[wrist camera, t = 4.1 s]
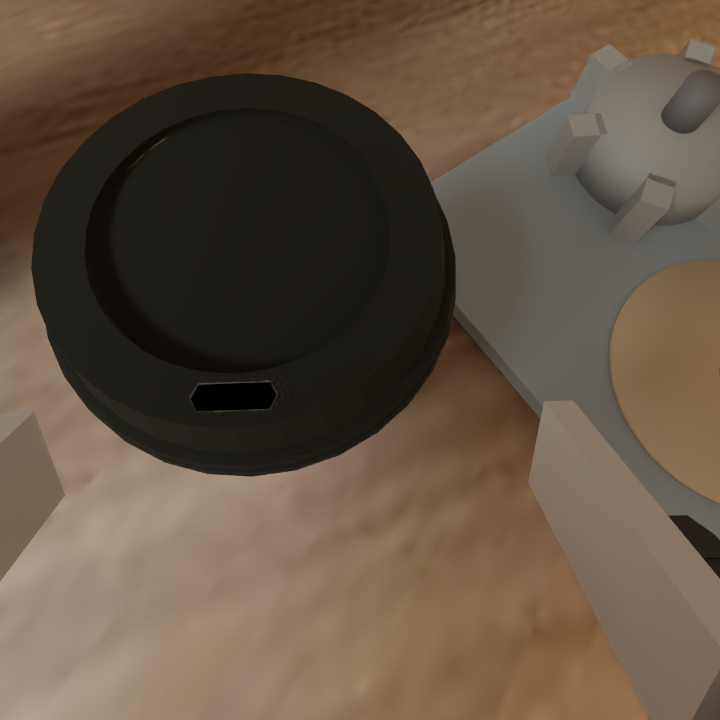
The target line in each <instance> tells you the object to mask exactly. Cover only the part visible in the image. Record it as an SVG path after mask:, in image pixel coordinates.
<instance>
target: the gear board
mask: <svg viewBox="0 0 720 720" xmlns="http://www.w3.org/2000/svg"><path fill="white" fill-rule="evenodd" d="M714 50H715V47H714V46H711V45H708V44H705V43H702V42H699V41H696V40H693V39H690V40H689V42H688V43H687V44H686V46H685V47H684V49H683V50H682V51H681V53H680V54H679V55H671V54H652V55H644V56H640V57H635V58H633V59H630V60H628V59H627V58H625V57H624V56H623V55H622V54H621V53H620V52H619V51H617V50H616V49H615V48H614V47H613V46H612V45H610V44H608V45H607V46H605V47H603V48H601V49H600V50H598V51H596V52H595V53H593V54H591V56H590V58H589V60H588V62H587V64H586V66H585V68H584V70H583V72H582V74H581V76H580V77H579V79H578V81H577V83H576V85H575V87H574V89H573V91H572V93H571V95H570V97H569V98H567V99H565V100H564V101H562V102H561V103H559V104H557V105H556V106H554V107H552V108H551V109H549V110H547V111H546V112H544V113H543V114H541V115H539V116H538V117H536V118H534V119H533V120H531V121H530V122H528V123H526V124H525V125H523V126H521V127H520V128H518V129H516V130H515V131H513V132H512V133H510V134H508V135H507V136H505V137H503V138H502V139H500V140H498V141H497V142H495V143H494V144H492V145H490V146H489V147H487V148H485V149H484V150H482V151H481V152H479V153H477V154H476V155H474V156H472V157H471V158H469V159H467V160H466V161H464V162H463V163H461V164H459V165H458V166H456V167H454V168H453V169H451V170H449V171H448V172H446V173H445V174H443V175H441V176H440V177H438V178H436V179H435V180H433V181H431V182H430V183H431V185H432V187H433V189H434V193H435V195H436V197H437V199H438V202H439V204H440V206H441V208H442V210H443V212H444V214H445V216H446V219H447V222H448V226H449V230H450V234H451V239H452V243H453V247H454V252H455V256H456V300H455V306H454V311H453V316H454V317H455V319H456V320H457V321H458V322H459V323H460V325H461V326H462V327H463V328H464V329H465V330H466V332H467V333H468V334H469V335H470V336H471V338H472V339H473V340H474V341H475V342H476V344H477V345H478V346H479V347H480V348H481V349H482V351H483V352H484V353H485V354H486V355H487V357H488V358H489V359H490V360H491V361H492V363H493V364H494V365H495V366H496V367H497V368H498V370H499V371H500V372H501V373H502V374H503V376H504V377H505V378H506V379H507V380H508V382H509V383H510V384H511V385H512V386H513V387H514V389H515V390H516V391H517V392H518V393H519V395H520V396H521V397H522V398H523V399H524V400H525V402H526V403H527V404H528V405H529V406H530V408H531V409H532V410H533V411H534V412H535V414H536V415H537V416H538V417H539V418H540V419H541V414H542V409H543V404H544V401H569V400H573V401H574V402H575V403H576V405H577V406H578V407H579V408H580V409H581V411H582V412H583V413H584V414H585V416H586V417H587V418H588V419H589V420H590V422H591V423H592V424H593V425H594V427H595V428H596V429H597V430H598V431H599V433H600V434H601V435H602V436H603V437H604V439H605V440H606V441H607V442H608V444H609V445H610V446H611V447H612V448H613V450H614V451H615V452H616V453H617V454H618V456H619V457H620V458H621V459H622V461H623V462H624V463H625V464H626V465H627V467H628V468H629V469H630V470H631V471H632V473H633V474H634V475H635V476H636V478H637V479H638V480H639V481H640V482H641V484H642V485H643V486H644V487H645V489H646V490H647V491H648V492H649V493H650V495H651V496H652V497H653V498H654V499H655V501H656V502H657V503H658V504H659V506H660V507H661V508H662V509H663V510H664V512H665V513H666V514H667V515H668V516H672V515H688V516H689V517H691V518H692V519H694V520H695V521H696V522H698V523H699V524H701V525H702V526H704V527H705V528H706V529H708V530H709V531H711V532H712V533H713V534H715V535H716V536H717V538H718V539H719V540H720V69H718V68H716V67H714V66H712V65H710V64H711V60H712V57H713V53H714Z"/></svg>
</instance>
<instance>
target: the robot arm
mask: <svg viewBox="0 0 720 720" xmlns="http://www.w3.org/2000/svg"><path fill="white" fill-rule="evenodd" d="M528 484H529V486H530V488H531V490H532V492H533V494H534V496H535V498H536V500H537V502H538V504H539V506H540V508H541V510H542V511H543V513H544V515H545V517H546V519H547V521H548V523H549V525H550V527H551V529H552V531H553V533H554V535H555V537H556V539H557V541H558V543H559V545H560V547H561V549H562V551H563V553H564V555H565V557H566V559H567V561H568V562H569V564H570V566H571V568H572V570H573V572H574V574H575V576H576V578H577V580H578V582H579V584H580V586H581V588H582V590H583V592H584V594H585V596H586V598H587V600H588V602H589V604H590V606H591V608H592V610H593V612H594V613H595V615H596V617H597V619H598V621H599V623H600V625H601V627H602V629H603V631H604V633H605V635H606V637H607V639H608V641H609V643H610V645H611V647H612V649H613V651H614V653H615V655H616V657H617V659H618V661H619V663H620V665H621V666H622V668H623V670H624V672H625V674H626V676H627V678H628V680H629V682H630V684H631V686H632V688H633V690H634V692H635V694H636V696H637V698H638V700H639V702H640V704H641V706H642V708H643V710H644V712H645V714H646V716H647V717H648V719H649V720H720V540H719V539H718V538H717V536H716V535H715V534H713V533H712V532H711V531H709V530H708V529H706V528H705V527H704V526H702V525H701V524H699V523H698V522H696V521H695V520H694V519H692V518H691V517H689V516H688V515H672V516H668V515H667V514H666V513H665V512H664V510H663V509H662V508H661V507H660V506H659V504H658V503H657V502H656V501H655V499H654V498H653V497H652V496H651V495H650V493H649V492H648V491H647V490H646V489H645V487H644V486H643V485H642V484H641V482H640V481H639V480H638V479H637V478H636V476H635V475H634V474H633V473H632V471H631V470H630V469H629V468H628V467H627V465H626V464H625V463H624V462H623V461H622V459H621V458H620V457H619V456H618V454H617V453H616V452H615V451H614V450H613V448H612V447H611V446H610V445H609V444H608V442H607V441H606V440H605V439H604V437H603V436H602V435H601V434H600V433H599V431H598V430H597V429H596V428H595V427H594V425H593V424H592V423H591V422H590V420H589V419H588V418H587V417H586V416H585V414H584V413H583V412H582V411H581V409H580V408H579V407H578V406H577V405H576V403H575V402H574V401H573V400H569V401H544V404H543V409H542V414H541V419H540V424H539V430H538V435H537V440H536V445H535V450H534V455H533V460H532V465H531V470H530V475H529V481H528ZM64 495H65V494H64V491H63V488H62V486H61V483H60V480H59V478H58V475H57V472H56V470H55V467H54V464H53V462H52V459H51V456H50V453H49V451H48V448H47V445H46V443H45V440H44V437H43V435H42V432H41V429H40V427H39V424H38V421H37V418H36V416H35V413H34V412H4V413H2V414H1V415H0V581H1V579H2V578H3V577H4V575H5V574H6V573H7V571H8V570H9V569H10V567H11V566H12V565H13V563H14V562H15V561H16V559H17V558H18V557H19V555H20V554H21V553H22V551H23V550H24V549H25V547H26V546H27V545H28V543H29V542H30V541H31V539H32V538H33V537H34V535H35V534H36V533H37V531H38V530H39V529H40V527H41V526H42V525H43V523H44V522H45V521H46V519H47V518H48V517H49V515H50V514H51V513H52V511H53V510H54V509H55V507H56V506H57V505H58V503H59V502H60V501H61V499H62V498H63V497H64Z"/></svg>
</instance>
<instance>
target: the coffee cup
mask: <svg viewBox="0 0 720 720" xmlns="http://www.w3.org/2000/svg"><path fill="white" fill-rule="evenodd" d="M31 269H32V275H33V282H34V288H35V295H36V301H37V305H38V308H39V310H40V313H41V315H42V317H43V320H44V322H45V324H46V329H47V335H48V339H49V342H50V344H51V346H52V349H53V351H54V353H55V356H56V358H57V361H58V363H59V365H60V368H61V370H62V373H63V375H64V377H65V378H66V380H67V381H68V382H69V384H70V385H71V386H72V388H73V389H74V390H75V392H76V393H77V395H78V396H79V397H80V399H81V400H82V401H83V403H84V404H85V405H86V407H87V408H88V409H89V410H90V411H91V412H92V413H93V414H94V415H95V416H96V417H97V418H99V419H100V420H101V421H102V422H103V423H104V424H106V425H107V426H108V427H109V428H110V429H111V430H113V431H114V432H115V433H116V434H117V435H119V436H120V437H121V438H122V439H123V440H124V441H126V442H127V443H128V444H130V445H132V446H134V447H136V448H138V449H140V450H142V451H144V452H146V453H148V454H150V455H152V456H153V457H155V458H157V459H159V460H161V461H163V462H165V463H169V464H172V465H176V466H180V467H183V468H187V469H191V470H195V471H198V472H202V473H206V474H217V475H234V476H251V477H252V476H259V475H266V474H273V473H281V472H288V471H295V470H299V469H302V468H304V467H307V466H310V465H313V464H316V463H319V462H322V461H324V460H327V459H330V458H333V457H336V456H339V455H340V454H342V453H344V452H346V451H347V450H349V449H351V448H352V447H354V446H356V445H357V444H359V443H361V442H363V441H364V440H366V439H368V438H369V437H371V436H373V435H374V434H376V433H377V432H379V431H380V430H381V429H382V428H383V427H384V426H385V425H386V424H387V423H389V422H390V421H391V420H392V419H393V418H394V417H395V416H396V415H397V414H399V413H400V412H401V411H402V410H403V409H404V408H405V407H406V406H407V405H408V404H409V403H410V402H411V400H412V399H413V398H414V396H415V395H416V394H417V392H418V391H419V389H420V388H421V387H422V385H423V384H424V383H425V381H426V380H427V379H428V377H429V376H430V374H431V373H432V371H433V369H434V367H435V365H436V363H437V360H438V358H439V356H440V354H441V351H442V349H443V347H444V345H445V343H446V340H447V338H448V334H449V330H450V325H451V320H452V316H453V311H454V306H455V300H456V256H455V252H454V247H453V243H452V239H451V234H450V230H449V226H448V222H447V219H446V216H445V214H444V212H443V210H442V208H441V206H440V204H439V202H438V199H437V197H436V195H435V193H434V189H433V187H432V185H431V183H430V180H429V178H428V176H427V174H426V172H425V170H424V168H423V166H422V164H421V161H420V160H419V158H418V157H417V156H416V154H415V153H414V152H413V150H412V149H411V148H410V146H409V145H408V144H407V143H406V141H405V140H404V139H403V137H402V136H401V135H400V134H399V133H398V132H397V131H396V130H395V129H394V128H393V127H392V126H390V125H389V124H388V123H387V122H386V121H385V120H384V119H382V118H381V117H380V116H379V115H378V114H377V113H376V112H374V111H373V110H371V109H369V108H368V107H366V106H364V105H363V104H361V103H359V102H358V101H356V100H354V99H353V98H351V97H349V96H348V95H345V94H343V93H340V92H338V91H335V90H333V89H330V88H327V87H325V86H322V85H320V84H317V83H314V82H309V81H305V80H300V79H295V78H291V77H286V76H281V75H264V74H236V75H225V76H214V77H208V78H204V79H200V80H196V81H192V82H188V83H184V84H179V85H176V86H173V87H171V88H169V89H166V90H164V91H161V92H159V93H156V94H154V95H151V96H149V97H146V98H144V99H142V100H140V101H139V102H137V103H135V104H134V105H132V106H130V107H129V108H127V109H125V110H124V111H122V112H120V113H119V114H117V115H115V116H114V117H112V118H111V119H110V120H109V121H108V122H106V123H105V124H104V125H103V126H102V127H100V128H99V129H98V130H97V131H96V132H95V133H93V134H92V135H91V136H90V137H89V138H87V139H86V140H85V141H84V142H83V144H82V145H81V146H80V147H79V148H78V150H77V151H76V152H75V153H74V154H73V156H72V157H71V158H70V159H69V160H68V162H67V163H66V164H65V165H64V166H63V168H62V169H61V171H60V173H59V175H58V176H57V178H56V180H55V182H54V184H53V185H52V187H51V189H50V191H49V193H48V194H47V196H46V198H45V200H44V203H43V207H42V210H41V213H40V216H39V220H38V223H37V226H36V229H35V232H34V243H33V255H32V267H31Z"/></svg>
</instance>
